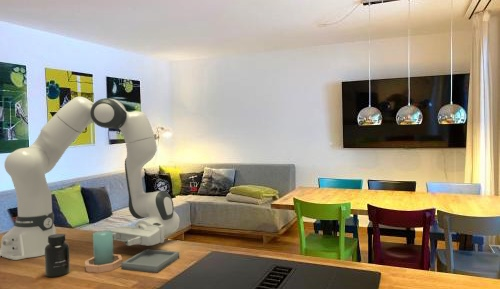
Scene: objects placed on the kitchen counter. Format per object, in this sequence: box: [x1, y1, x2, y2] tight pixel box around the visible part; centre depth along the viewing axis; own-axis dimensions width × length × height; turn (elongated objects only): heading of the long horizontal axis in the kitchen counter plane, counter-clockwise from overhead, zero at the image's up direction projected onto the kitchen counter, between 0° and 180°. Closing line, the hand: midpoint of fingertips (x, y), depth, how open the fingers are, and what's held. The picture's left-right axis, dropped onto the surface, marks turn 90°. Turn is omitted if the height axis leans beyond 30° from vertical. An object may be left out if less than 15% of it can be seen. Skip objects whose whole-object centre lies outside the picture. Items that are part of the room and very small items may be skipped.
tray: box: [120, 248, 180, 274], centre depth 123 cm, size 13×14×2 cm
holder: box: [84, 253, 124, 274], centre depth 122 cm, size 11×11×2 cm
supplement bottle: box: [44, 233, 71, 278], centre depth 116 cm, size 7×7×12 cm
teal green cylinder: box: [92, 229, 115, 265], centre depth 121 cm, size 6×6×11 cm
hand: (117, 241), depth 127 cm, fingers open, 8 cm apart
